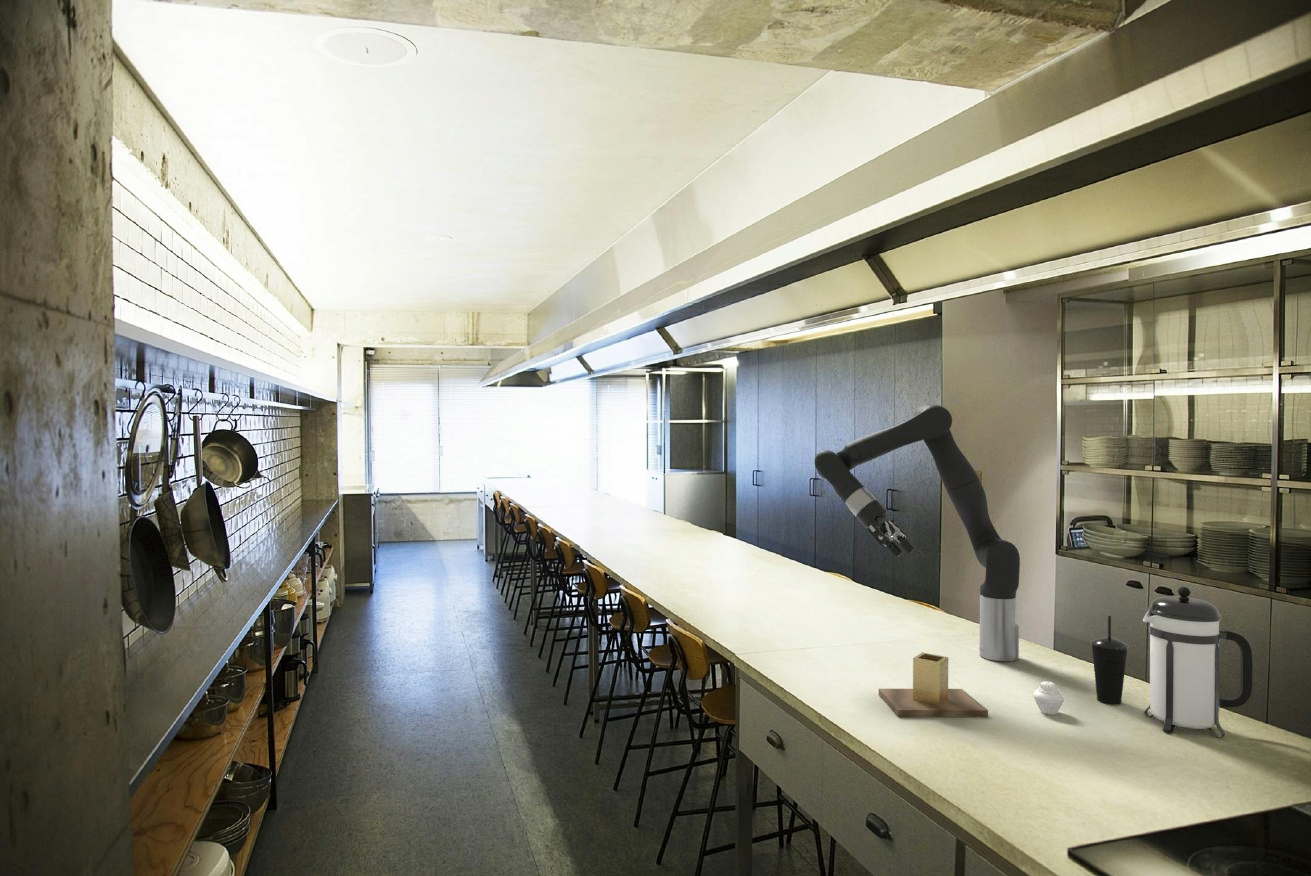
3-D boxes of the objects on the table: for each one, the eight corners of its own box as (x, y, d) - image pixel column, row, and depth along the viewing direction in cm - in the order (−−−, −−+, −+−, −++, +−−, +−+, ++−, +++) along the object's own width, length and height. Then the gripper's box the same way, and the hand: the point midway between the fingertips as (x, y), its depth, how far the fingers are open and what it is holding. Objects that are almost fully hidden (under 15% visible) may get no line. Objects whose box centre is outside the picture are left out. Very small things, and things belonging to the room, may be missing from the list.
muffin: (1026, 709, 170) (1027, 678, 170) (1046, 705, 172) (1046, 675, 172) (1050, 718, 164) (1051, 687, 164) (1070, 714, 166) (1070, 683, 166)
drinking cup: (1123, 697, 177) (1123, 613, 177) (1132, 708, 170) (1132, 621, 170) (1086, 694, 180) (1087, 611, 180) (1094, 704, 173) (1094, 618, 173)
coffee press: (1208, 747, 149) (1209, 597, 149) (1126, 720, 163) (1127, 583, 163) (1253, 732, 157) (1254, 589, 157) (1171, 707, 171) (1172, 577, 171)
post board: (961, 694, 179) (961, 666, 179) (988, 716, 165) (988, 686, 165) (878, 694, 179) (878, 666, 179) (897, 716, 165) (898, 685, 165)
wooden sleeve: (922, 692, 176) (922, 652, 176) (948, 698, 172) (948, 657, 172) (912, 699, 171) (913, 658, 171) (939, 705, 168) (939, 663, 168)
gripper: (864, 500, 201) (905, 546, 194) (885, 497, 212) (925, 541, 205) (845, 518, 204) (885, 565, 197) (867, 514, 215) (906, 558, 208)
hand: (906, 552), depth 201 cm, fingers open, 8 cm apart
